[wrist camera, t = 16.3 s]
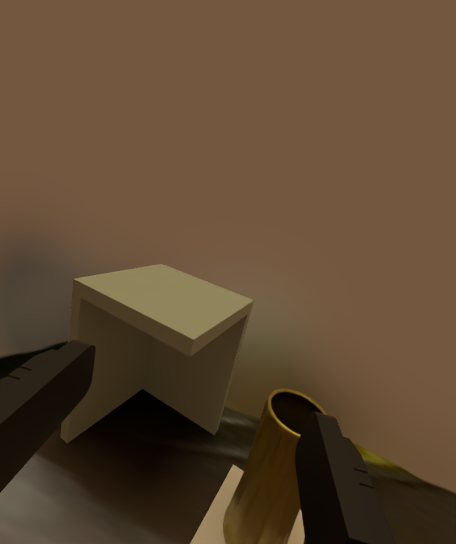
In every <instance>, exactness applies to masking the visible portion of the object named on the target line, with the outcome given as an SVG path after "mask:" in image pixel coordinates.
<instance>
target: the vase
mask: <svg viewBox="0 0 456 544" xmlns="http://www.w3.org/2000/svg"><path fill="white" fill-rule="evenodd" d="M312 411H315V412H318V413H322V414H325V415H327V414H326V413H325V411H324V410H323V409H322V408H321V407H320V406H319V405H318V404H317V403H316V402H315V401H314V400H312V399H311V398H310V397H308V396H307V395H305V394H303V393H301V392H298V391H294V390H290V389H278V390H275V391H274V392H272V393H271V394H270V396H269V397H268V399H267V401H266V403H265V406H264V410H263V413H262V416H261V419H260V422H259V425H258V428H257V432H256V434H255V437H254V440H253V443H252V446H251V449H250V453H249V456H248V460H247V463H246V467H245V470H244V472H243V475H242V477H241V479H240V481H239V484H238V486H237V488H236V490H235V492H234V494H233V497H232V499H231V501H230V503H229V505H228V507H227V509H226V511H225V516H224V523H223V527H224V534H225V538H226V541H227V544H287V543H288V540H289V537H290V534H291V531H292V529H293V526H294V523H295V520H296V518H297V515H298V513H299V510H300V507H301V505H300V497H299V490H298V482H297V475H296V467H295V451H296V446H297V442H298V440H299V438H300V435H301V433H302V431H303V428H304V426H305V424H306V422H307V419H308V417H309V415H310V413H311V412H312Z"/></svg>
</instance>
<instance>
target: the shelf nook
mask: <svg viewBox="0 0 456 544" xmlns="http://www.w3.org/2000/svg"><path fill="white" fill-rule="evenodd" d="M253 301H254V300H252V299H249V298H246V297H244V296H242V295H239V294H237V293H234V292H231V291H229V290H226V289H224V288H221V287H219V286H216V285H214V284H211V283H209V282H206V281H204V280H201V279H199V278H196V277H193V276H191V275H188V274H186V273H183V272H181V271H178V270H176V269H173V268H171V267H168V266H165V265H163V264H159V265H153V266H147V267H142V268H136V269H129V270H123V271H117V272H112V273H106V274H99V275H93V276H88V277H82V278H76V279H74V280H73V292H72V305H71V317H70V328H69V340H68V342H70V341H71V340H78V341H81V342H84V343H88V344H91V345H94V346H95V348H96V353H95V361H94V369H93V377H92V382H91V385H90V388H89V390H88V392H87V394H86V395H85V397H84V398H83V399H82V400H81V401H80V403H79V404H78V405H77V406H76V407H75V408H74V409H73V410H72V412H71V413H70V414H69V415H68V416H67V417H66V418H65V420H64V421H63V422H62V425H61V437H60V438H61V439H63V440H64V441H65V442H66V443H69V442H70V441H71V440H73V439H74V438H76V437H77V436H78V435H80V434H81V433H82V432H84V431H85V430H87V429H88V428H89V427H91V426H92V425H93V424H95V423H96V422H98V421H99V420H100V419H102V418H103V417H104V416H106V415H107V414H109V413H110V412H111V411H113V410H114V409H115V408H117V407H118V406H120V405H121V404H122V403H124V402H125V401H126V400H128V399H129V398H131V397H132V396H133V395H135V394H136V393H137V392H139V391H140V390H142V389H144V390H145V391H147V392H148V393H150V394H151V395H153V396H155V397H156V398H158V399H159V400H161V401H162V402H164V403H165V404H167V405H168V406H170V407H171V408H173V409H175V410H176V411H178V412H179V413H181V414H182V415H184V416H185V417H187V418H188V419H190V420H191V421H193V422H194V423H196V424H198V425H199V426H201V427H202V428H204V429H205V430H207V431H208V432H210V433H211V434H213V435H215V433H216V432H217V431H218V427H219V424H220V420H221V417H222V413H223V409H224V406H225V402H226V399H227V395H228V391H229V388H230V384H231V381H232V377H233V373H234V370H235V366H236V362H237V359H238V355H239V352H240V348H241V345H242V341H243V337H244V334H245V330H246V327H247V323H248V319H249V316H250V312H251V309H252V305H253Z"/></svg>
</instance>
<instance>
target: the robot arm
mask: <svg viewBox="0 0 456 544" xmlns="http://www.w3.org/2000/svg"><path fill="white" fill-rule="evenodd" d="M95 353H96V348H95V346H94V345H91V344H88V343H84V342H81V341H78V340H71V341H70V342H68V343H67V344H66V345H64V346H63V347H62V348H60V349H59V350H58V351H57V350H53V349H52V350H49V351H47V352H44V353H41V354H39V355H36V356H34V357H33V358H31V359H30V360H29V361H27V362H26V363H24V364H23V365H21V367H20V368H17V369H16V370H14V371H13V372H12V373H10V374H9V375H8V377H4V378H3V379H2V380H0V492H1V491H2V490H3V489H4V488H5V487H6V485H7V484H8V483H9V482H10V481H11V480H12V479H13V478H14V476H15V475H16V474H17V473H18V472H19V471H20V470H21V468H22V467H23V466H24V465H25V464H26V463H27V462H28V460H29V459H30V458H31V457H32V456H33V455H34V454H35V453H36V451H37V450H38V449H39V448H40V447H41V446H42V445H43V443H44V442H45V441H46V440H47V439H48V438H49V437H50V435H51V434H52V433H53V432H54V431H55V430H56V429H57V428H58V426H59V425H60V424H61V423H62V422H63V421H64V420H65V418H66V417H67V416H68V415H69V414H70V413H71V412H72V410H73V409H74V408H75V407H76V406H77V405H78V404H79V403H80V401H81V400H82V399H83V398H84V397H85V395H86V394H87V392H88V390H89V388H90V385H91V382H92V377H93V369H94V361H95ZM295 467H296V475H297V482H298V490H299V497H300V505H301V512H302V519H303V527H304V534H305V542H306V544H396V542H395V540H394V537H393V535H392V532H391V530H390V527H389V525H388V522H387V520H386V517H385V514H384V512H383V509H382V507H381V504H380V502H379V499H378V497H377V494H376V492H375V491H374V490H373V488H374V487H373V484H372V482H371V479H370V476H368V471H367V469H366V466H365V464H364V461H363V459H362V456H361V454H360V453H359V452H358V450H357V449H356V447H355V446H354V445H353V443H352V442H351V440H350V439H348V438H345V437H343V436H342V433H341V430H340V428H339V425H338V422H337V420H336V418H334V417H332V416H328V415H325V414H322V413H318V412H315V411H312V412H311V413H310V415H309V417H308V419H307V422H306V424H305V426H304V428H303V431H302V433H301V435H300V438H299V440H298V442H297V446H296V451H295Z"/></svg>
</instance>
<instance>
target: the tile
mask: <svg viewBox="0 0 456 544" xmlns="http://www.w3.org/2000/svg"><path fill="white" fill-rule="evenodd" d="M243 472H244V471H242V470H241V469H239V468H238V467H236V466H235V465H233V466H232V468H231V469H230V471H229V473H228V475H227V477H226V479H225V480H224V482H223V484H222V486H221V488H220V490H219V492H218V493H217V495H216V497H215V499H214V501H213V503H212V504H211V506H210V508H209V510H208V512H207V514H206V516H205V517H204V519H203V521H202V523H201V525H200V527H199V528H198V530H197V532H196V534H195V536H194V538H193V539H192V541H191V543H190V544H227V541H226V538H225V534H224V527H223V523H224V516H225V511H226V509H227V507H228V505H229V503H230V501H231V499H232V497H233V494H234V492H235V490H236V488H237V486H238V484H239V481H240V479H241V477H242V475H243ZM304 537H305V534H304V527H303V519H302V512H301V510H299V513H298V515H297V518H296V520H295V523H294V526H293V529H292V531H291V534H290V537H289V540H288V543H287V544H303V543H304Z"/></svg>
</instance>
